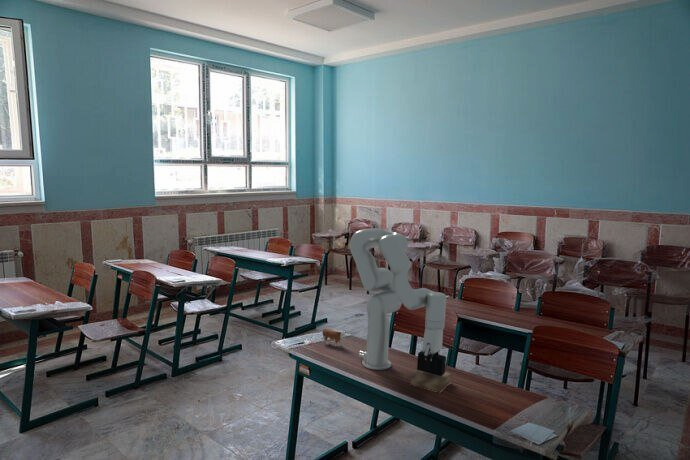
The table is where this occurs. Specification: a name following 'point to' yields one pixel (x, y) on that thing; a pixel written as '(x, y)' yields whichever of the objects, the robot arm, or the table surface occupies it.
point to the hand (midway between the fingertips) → (431, 367)
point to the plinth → (430, 380)
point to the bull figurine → (333, 336)
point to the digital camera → (438, 364)
